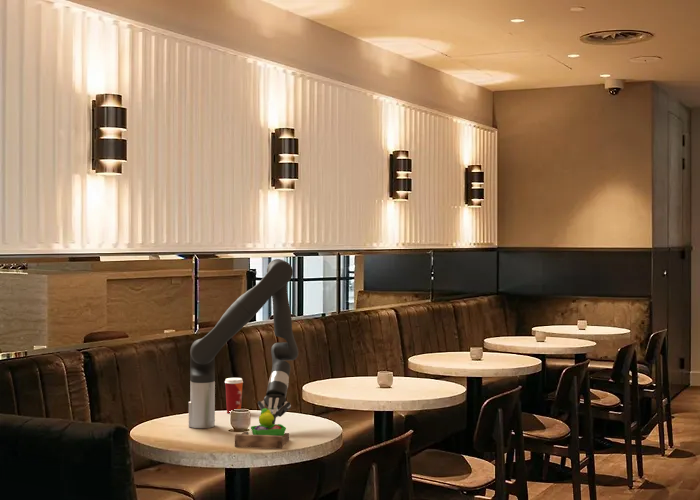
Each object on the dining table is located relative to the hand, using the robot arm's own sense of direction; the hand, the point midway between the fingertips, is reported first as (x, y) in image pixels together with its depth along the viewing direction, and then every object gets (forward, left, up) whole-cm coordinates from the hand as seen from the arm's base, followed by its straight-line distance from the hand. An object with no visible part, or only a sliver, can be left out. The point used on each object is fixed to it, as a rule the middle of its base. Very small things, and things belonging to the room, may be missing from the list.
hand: (270, 424), depth 353 cm
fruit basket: (+1, -9, -4) cm, 10 cm away
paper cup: (-24, +39, -4) cm, 46 cm away
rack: (0, -14, -4) cm, 14 cm away
